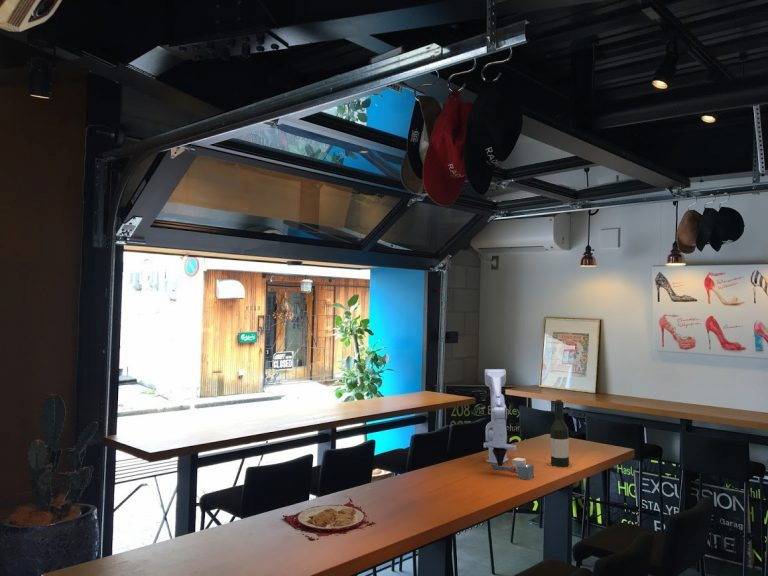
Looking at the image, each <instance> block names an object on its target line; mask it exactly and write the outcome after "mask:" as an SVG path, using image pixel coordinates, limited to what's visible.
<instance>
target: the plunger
mask: <svg viewBox="0 0 768 576" xmlns="http://www.w3.org/2000/svg"><path fill="white" fill-rule="evenodd" d="M510 467H511V471H510V472H511V473H518V468H516V467H515V466H513V465H511V466H510Z"/></svg>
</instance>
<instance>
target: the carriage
mask: <svg viewBox="0 0 768 576" xmlns="http://www.w3.org/2000/svg"><path fill="white" fill-rule="evenodd" d="M522 463H523V464H527V458H522V457H515V458H513V459H512V462H511V464H512V466H515V467H516V468H517V466H519V465H521V464H522Z"/></svg>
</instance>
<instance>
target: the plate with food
mask: <svg viewBox="0 0 768 576" xmlns="http://www.w3.org/2000/svg"><path fill="white" fill-rule="evenodd" d="M282 517H283V518H284V519H285V520H286V521H288V522H289V524H290V525H291V526H293V527H294V528H295V529H296V528H300V529H299V530H301V531H300V532H306V533H312V534H314V535H316V536H317V537H316V538H315V537H313V536H309V535H307V537H308V539H309V540H317V541H318V540H319V538H320V537H329V536H332V534H333V535H345V534H347V533H349V531H351V530H354V529H357V528H359V527H361V528H359V529H360V530H361V529H362V530H363V529H366V527H373V525H377V523H376V522H374V521H371V522H370V521H369V517H368V516H367V514H366V512H365V511H363V508H362V506H355V504H353V500H352V498H351V497H349V502H346V503H344V504H326V505H316V506H312V507H310V508H309V507H308V508H306V509H304V510H301V511H300V512H297V513H295V514H290V515H284V514H282ZM366 518H367V519H368V520H366ZM363 525H365V526H363ZM304 534H305V533H302V535H303V536H305V535H304Z"/></svg>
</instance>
